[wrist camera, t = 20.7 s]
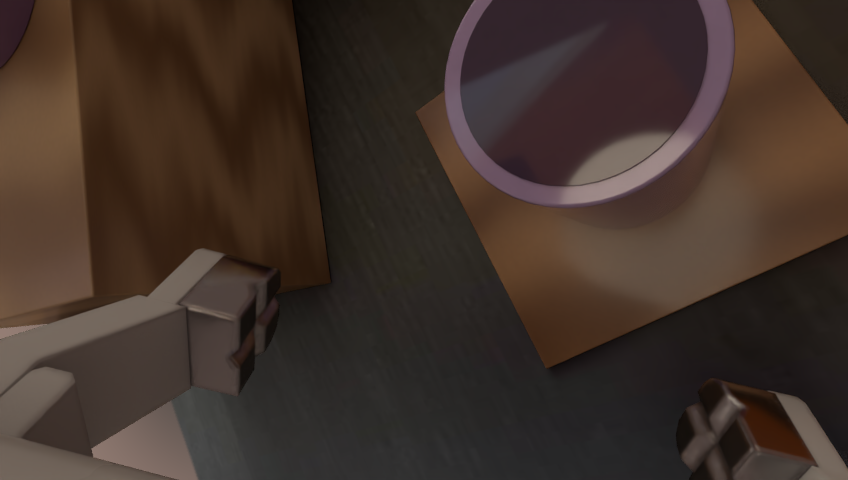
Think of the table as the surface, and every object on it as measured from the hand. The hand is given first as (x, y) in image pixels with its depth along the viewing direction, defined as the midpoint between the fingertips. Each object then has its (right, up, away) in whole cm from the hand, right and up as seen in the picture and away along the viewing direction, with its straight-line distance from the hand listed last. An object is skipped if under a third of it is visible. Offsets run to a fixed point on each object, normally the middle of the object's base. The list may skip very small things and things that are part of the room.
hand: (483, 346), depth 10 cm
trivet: (+6, +6, +11) cm, 14 cm away
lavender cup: (+6, +6, +10) cm, 13 cm away
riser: (-12, +7, +20) cm, 24 cm away
